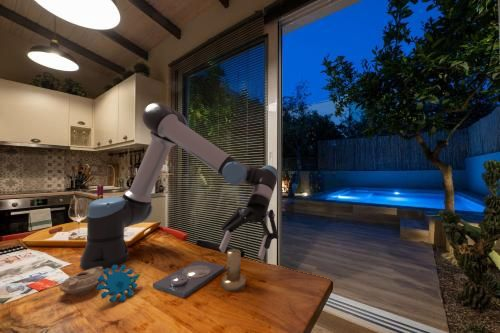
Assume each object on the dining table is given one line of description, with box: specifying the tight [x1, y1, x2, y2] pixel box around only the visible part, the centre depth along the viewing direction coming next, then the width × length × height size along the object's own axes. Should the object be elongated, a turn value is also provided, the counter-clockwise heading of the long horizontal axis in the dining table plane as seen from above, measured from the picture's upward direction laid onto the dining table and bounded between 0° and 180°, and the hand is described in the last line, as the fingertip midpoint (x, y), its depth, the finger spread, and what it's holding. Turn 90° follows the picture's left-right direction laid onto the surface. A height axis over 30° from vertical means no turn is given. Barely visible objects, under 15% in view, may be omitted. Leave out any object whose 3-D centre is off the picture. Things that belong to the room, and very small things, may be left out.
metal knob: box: [221, 248, 246, 293], centre depth 65 cm, size 7×7×10 cm
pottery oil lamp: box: [59, 267, 105, 296], centre depth 63 cm, size 9×12×7 cm
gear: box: [96, 264, 141, 303], centre depth 60 cm, size 11×6×10 cm
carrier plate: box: [152, 259, 227, 299], centre depth 69 cm, size 12×20×2 cm, turn 153°
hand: (240, 254), depth 67 cm, fingers open, 13 cm apart
